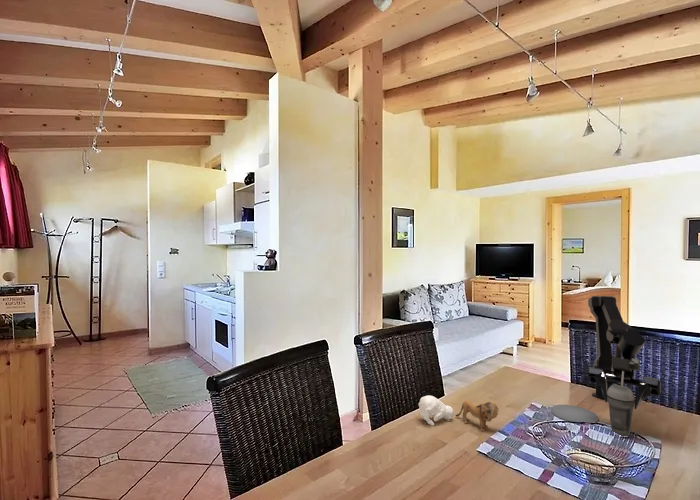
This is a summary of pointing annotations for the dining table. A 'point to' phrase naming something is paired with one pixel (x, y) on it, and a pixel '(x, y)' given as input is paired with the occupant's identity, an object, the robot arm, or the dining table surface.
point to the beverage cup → (620, 407)
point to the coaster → (573, 413)
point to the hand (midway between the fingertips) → (620, 405)
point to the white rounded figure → (434, 409)
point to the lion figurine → (480, 412)
